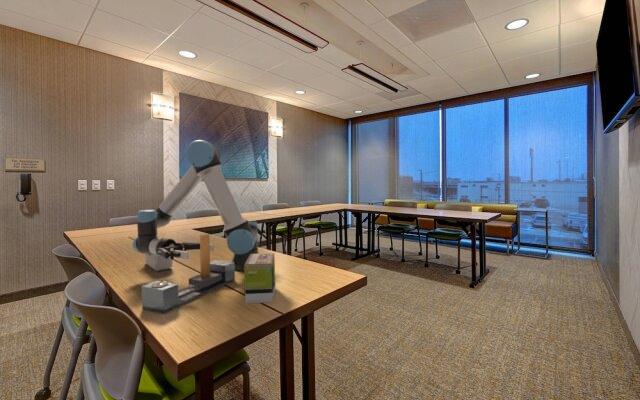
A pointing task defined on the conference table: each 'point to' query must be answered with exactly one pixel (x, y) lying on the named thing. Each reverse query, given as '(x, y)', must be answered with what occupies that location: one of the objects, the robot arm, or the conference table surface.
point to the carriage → (205, 265)
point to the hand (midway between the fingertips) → (201, 251)
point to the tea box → (259, 278)
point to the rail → (183, 290)
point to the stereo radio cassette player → (158, 262)
